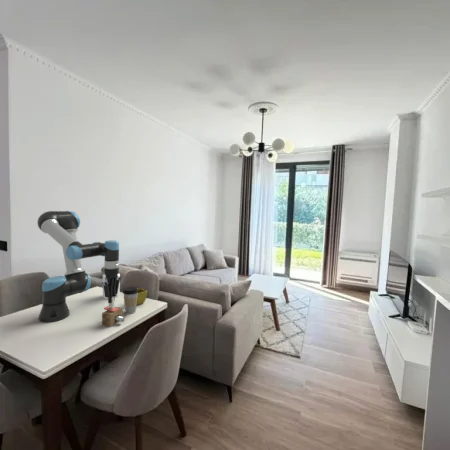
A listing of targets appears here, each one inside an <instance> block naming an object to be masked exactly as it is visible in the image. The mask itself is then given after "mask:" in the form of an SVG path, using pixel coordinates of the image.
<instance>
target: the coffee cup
mask: <svg viewBox="0 0 450 450" xmlns="http://www.w3.org/2000/svg"><path fill="white" fill-rule="evenodd" d="M138 289H139V288H137V287H135V286H130V287H129V286H128V287H125V288H124V289H123V291H122V294H123V300H124V301H123V303H124V307H125V313H126V314H127V315H128V314H129V315H131V314H134V313H136V310H137V305H136V304H137V297H138V296H137V294H138V292H139V291H138Z"/></svg>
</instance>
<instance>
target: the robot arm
mask: <svg viewBox="0 0 450 450" xmlns="http://www.w3.org/2000/svg"><path fill="white" fill-rule="evenodd" d="M80 218H81V217H80V216H79V214H77V213H76V211H75V212H74V211H69V210H64V211H63V210H62V211H61V210H60V211H57V210H52V211H51V210H49V211H44V212H43V213H42V214H41V215H39V217H38V218H37V227H38V229H39V230H40V231H41V232H43V233H44V234H48V235H49V236H50V237H51V239H53V240H55V242H56V243H58V244H59V245H60V246H61V249H62V252H63V257H64V258H63V259H64V265H65V271H66V272H65V273H64V275H57V276H51V277H49V278H47V279H45V280H43V282H42V285H41V286H42V287H41V293H42V294H41V299H42V300H41V301H42V303H41V304H42V306H41V309H40V313H39V314H38V321H40V322H42V323H52V322H58V321H60V320H64V319H66V318H68V317H69V315H70V309H69V307H68V304H67V300H66V299H67V298H68V297H70V296H74V295H77V294H81V293H83V292H87V291H88V290H89V289H90V287H91V284H92V279H91V276H90V274H89V273H87V272H86V270H85V269H84V268H83V266H82V263H81V262H82V259H86V258H87V259H88V258H93V257H100V256H101V257H104V273H105V275H106V278H105V281H104V282H103V281H102V282H101V285H102V288H103V287H104V293H105V297H108V299H107V302H108V306H109V308H112V309H113V308H114V307H115V300H116V298H115V296H117V295H116V294H117V293H118V288H119V282H120V283H121V279H122V278H121V276H120V277H118V275H117V274H120V272H119V271H120V269H119V263H120V244H119V243H120V242H119V241H118V240H114V239H113V240H106V241H104V242H100V241H96V242H92V243H84V244H82V243H81V242H80V241H79V240H78V239H77V234H76V233H77V232H78V228H79V227H80V226H81V219H80Z"/></svg>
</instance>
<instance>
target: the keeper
mask: <svg viewBox="0 0 450 450" xmlns="http://www.w3.org/2000/svg"><path fill="white" fill-rule="evenodd" d="M116 307H117V306H114V308H113V309H112V308H109V305H107V306H105V307H103V310H104V311H107V310H108V311H111V312H115V311H117V310H119V308H116Z"/></svg>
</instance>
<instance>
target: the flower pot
mask: <svg viewBox="0 0 450 450" xmlns="http://www.w3.org/2000/svg"><path fill="white" fill-rule="evenodd" d="M137 289H138V291H139V292H138V294H137V296H138V297H137V304H136V306H139V305H143V304H144V303H145V302H146V299H147V295H148V290H147V289H144V288H137Z"/></svg>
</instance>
